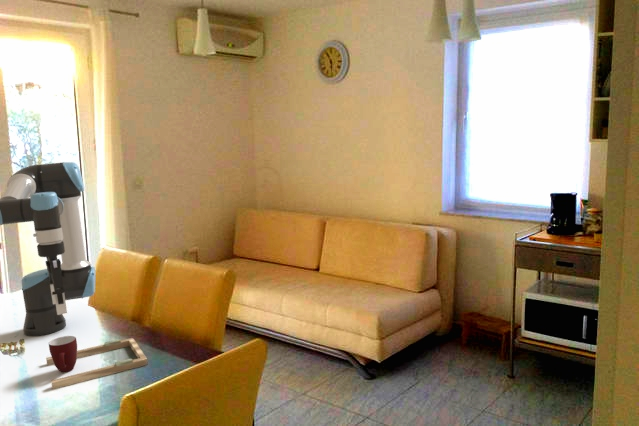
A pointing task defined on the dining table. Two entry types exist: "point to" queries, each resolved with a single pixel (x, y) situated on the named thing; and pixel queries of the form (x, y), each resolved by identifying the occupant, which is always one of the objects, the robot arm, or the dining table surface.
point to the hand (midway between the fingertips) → (59, 308)
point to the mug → (64, 353)
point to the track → (105, 370)
